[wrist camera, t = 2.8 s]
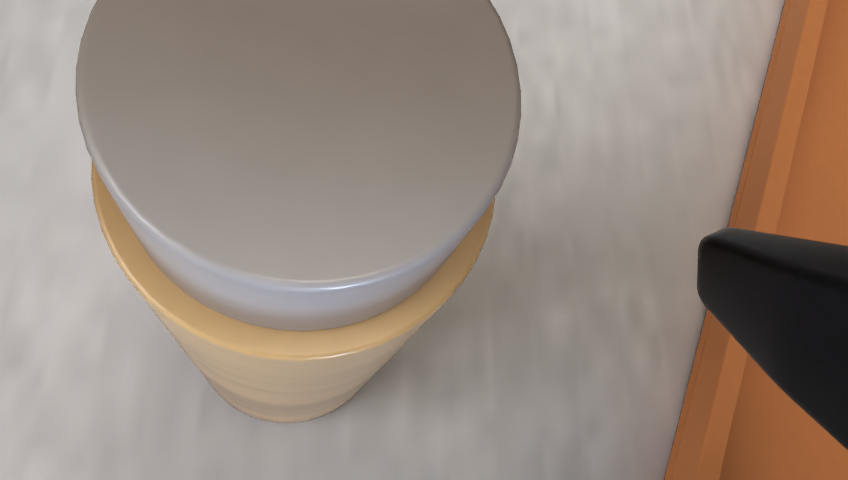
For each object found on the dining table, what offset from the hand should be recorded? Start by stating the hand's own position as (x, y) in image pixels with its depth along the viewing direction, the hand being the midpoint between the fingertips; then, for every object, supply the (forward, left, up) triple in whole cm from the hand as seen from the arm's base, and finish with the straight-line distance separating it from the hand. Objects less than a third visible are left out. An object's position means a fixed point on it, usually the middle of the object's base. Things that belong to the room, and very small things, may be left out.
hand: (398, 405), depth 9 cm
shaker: (+3, +1, -10) cm, 11 cm away
